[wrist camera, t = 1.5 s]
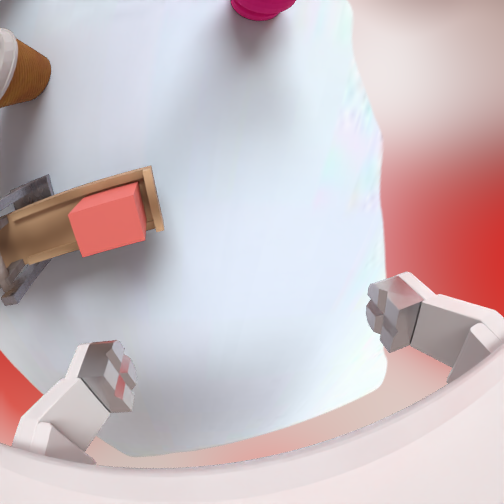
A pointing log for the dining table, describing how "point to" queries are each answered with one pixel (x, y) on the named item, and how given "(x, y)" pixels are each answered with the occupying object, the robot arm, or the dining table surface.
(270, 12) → the pepper mill
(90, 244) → the rider
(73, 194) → the beam
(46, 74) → the disposable coffee cup
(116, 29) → the dining table surface
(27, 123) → the dining table surface
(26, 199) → the stand
